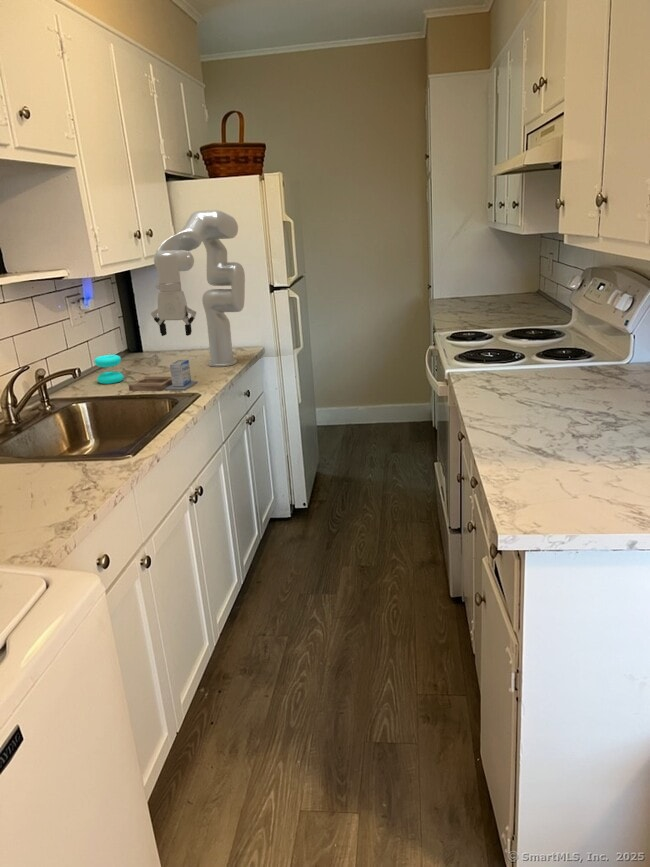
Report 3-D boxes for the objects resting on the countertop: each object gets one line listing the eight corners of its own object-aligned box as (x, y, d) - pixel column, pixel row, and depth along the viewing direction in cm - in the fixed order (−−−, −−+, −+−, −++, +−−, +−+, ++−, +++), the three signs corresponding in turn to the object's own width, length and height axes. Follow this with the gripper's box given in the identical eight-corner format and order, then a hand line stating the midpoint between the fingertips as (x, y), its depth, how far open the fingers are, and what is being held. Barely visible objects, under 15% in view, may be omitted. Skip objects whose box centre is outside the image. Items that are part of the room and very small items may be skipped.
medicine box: (183, 386, 241) (180, 364, 239) (172, 386, 242) (169, 364, 240) (191, 381, 249) (189, 359, 246) (180, 381, 250) (178, 359, 247)
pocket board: (146, 381, 255) (145, 376, 255) (177, 381, 253) (176, 376, 252) (129, 390, 242) (128, 385, 242) (161, 390, 240) (160, 385, 239)
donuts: (98, 360, 248) (90, 356, 256) (102, 386, 251) (94, 381, 259) (123, 356, 253) (115, 353, 261) (127, 381, 257) (119, 377, 264)
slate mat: (178, 382, 251) (178, 380, 251) (197, 382, 250) (197, 380, 250) (165, 390, 240) (165, 388, 240) (185, 390, 239) (185, 388, 238)
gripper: (143, 289, 232) (150, 337, 237) (188, 288, 228) (194, 336, 234) (152, 287, 239) (159, 333, 244) (197, 286, 235) (202, 333, 241)
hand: (176, 335), depth 239 cm, fingers open, 9 cm apart
